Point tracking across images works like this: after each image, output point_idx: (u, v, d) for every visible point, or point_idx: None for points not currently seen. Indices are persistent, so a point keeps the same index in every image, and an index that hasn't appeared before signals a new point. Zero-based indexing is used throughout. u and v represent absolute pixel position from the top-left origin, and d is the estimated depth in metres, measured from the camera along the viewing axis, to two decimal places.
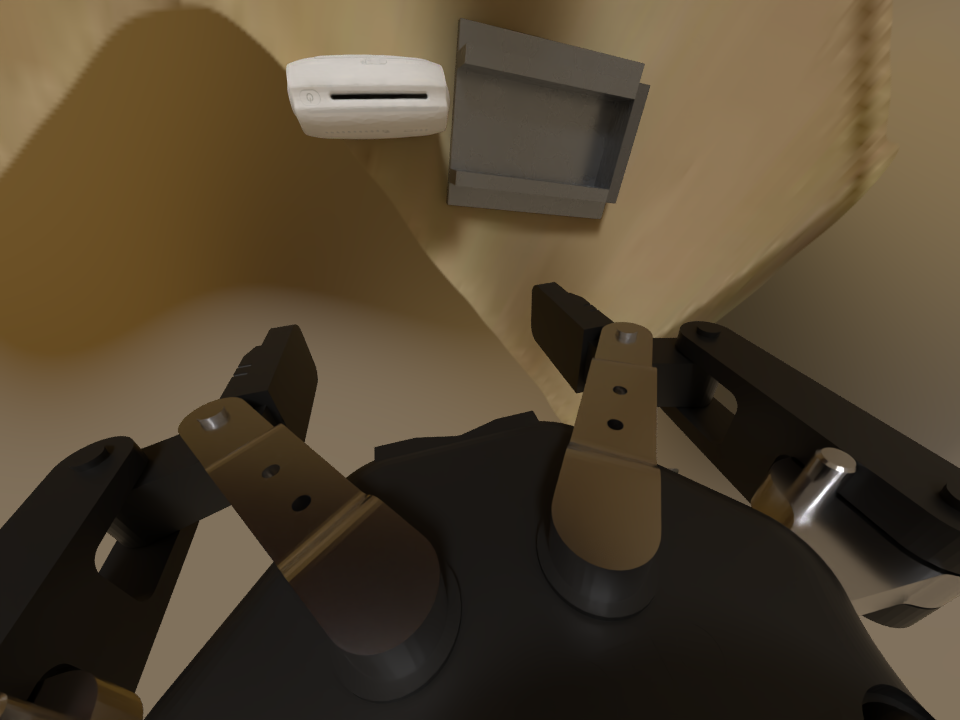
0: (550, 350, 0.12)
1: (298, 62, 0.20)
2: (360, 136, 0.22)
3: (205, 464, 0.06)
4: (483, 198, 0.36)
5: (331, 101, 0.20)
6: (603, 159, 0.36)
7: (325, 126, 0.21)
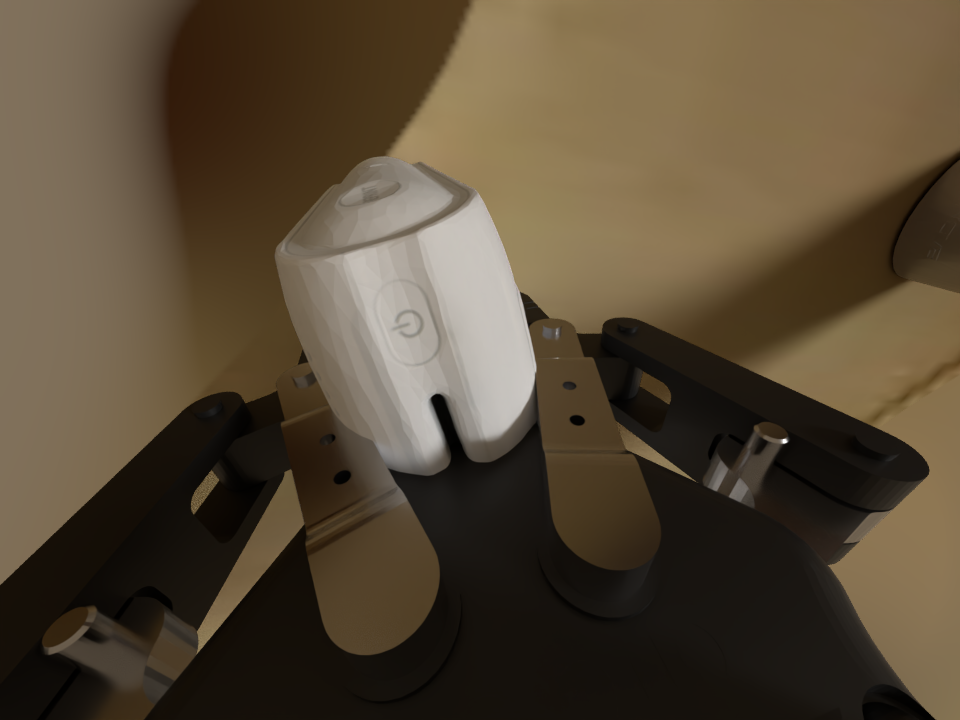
0: None
1: (498, 246, 0.06)
2: None
3: (286, 417, 0.07)
4: None
5: (421, 405, 0.05)
6: None
7: (327, 368, 0.05)
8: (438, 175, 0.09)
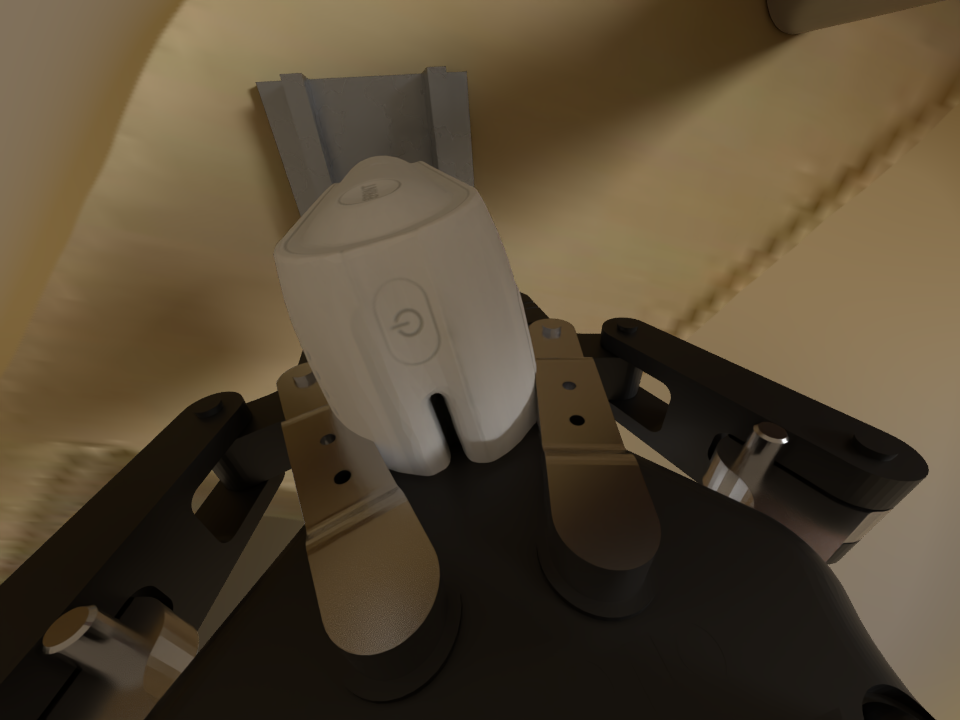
0: None
1: (497, 245, 0.06)
2: None
3: (287, 418, 0.07)
4: (291, 147, 0.25)
5: (421, 405, 0.05)
6: None
7: (326, 367, 0.05)
8: (438, 174, 0.09)
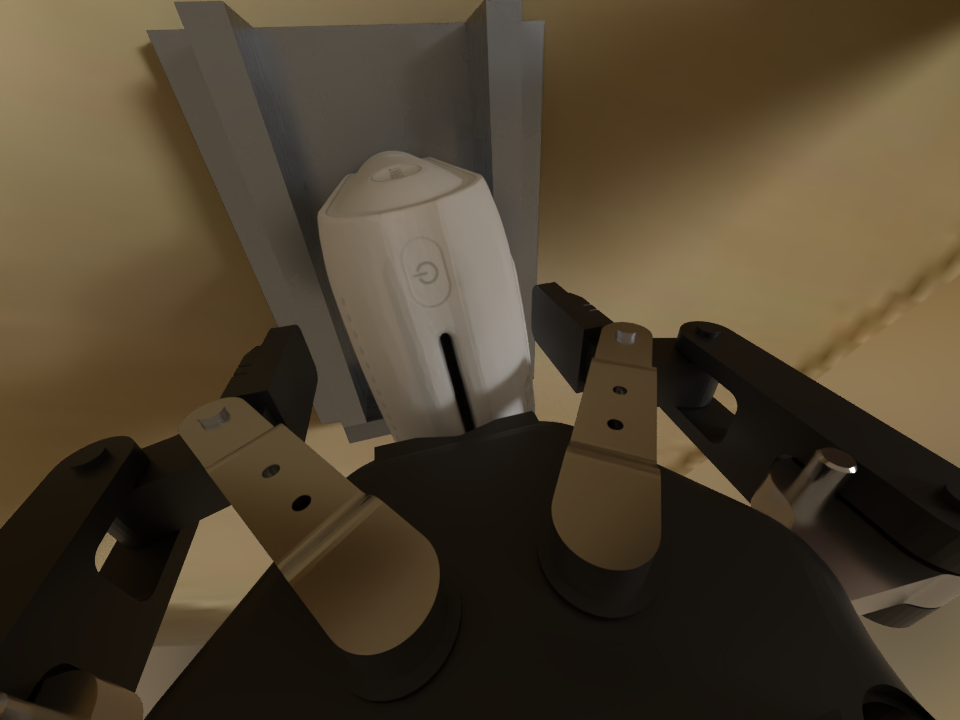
0: (550, 350, 0.12)
1: (497, 219, 0.07)
2: (366, 378, 0.08)
3: (205, 464, 0.06)
4: (228, 156, 0.14)
5: (433, 340, 0.07)
6: None
7: (359, 309, 0.07)
8: (447, 166, 0.10)
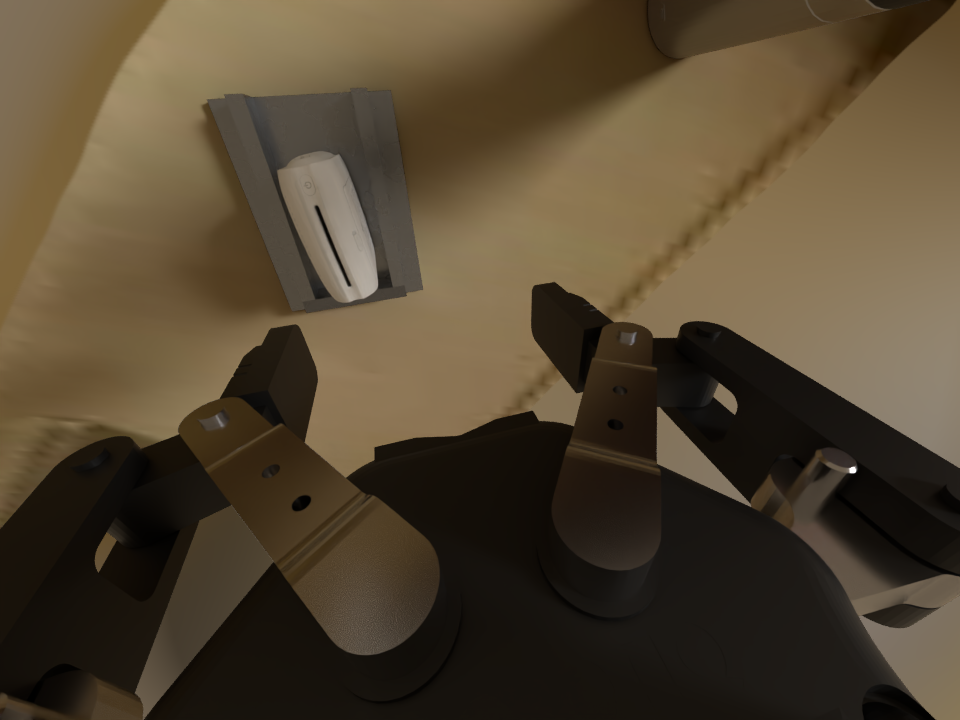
0: (550, 350, 0.12)
1: (334, 172, 0.23)
2: (296, 228, 0.23)
3: (206, 464, 0.06)
4: (241, 153, 0.29)
5: (312, 206, 0.22)
6: None
7: (289, 197, 0.22)
8: None
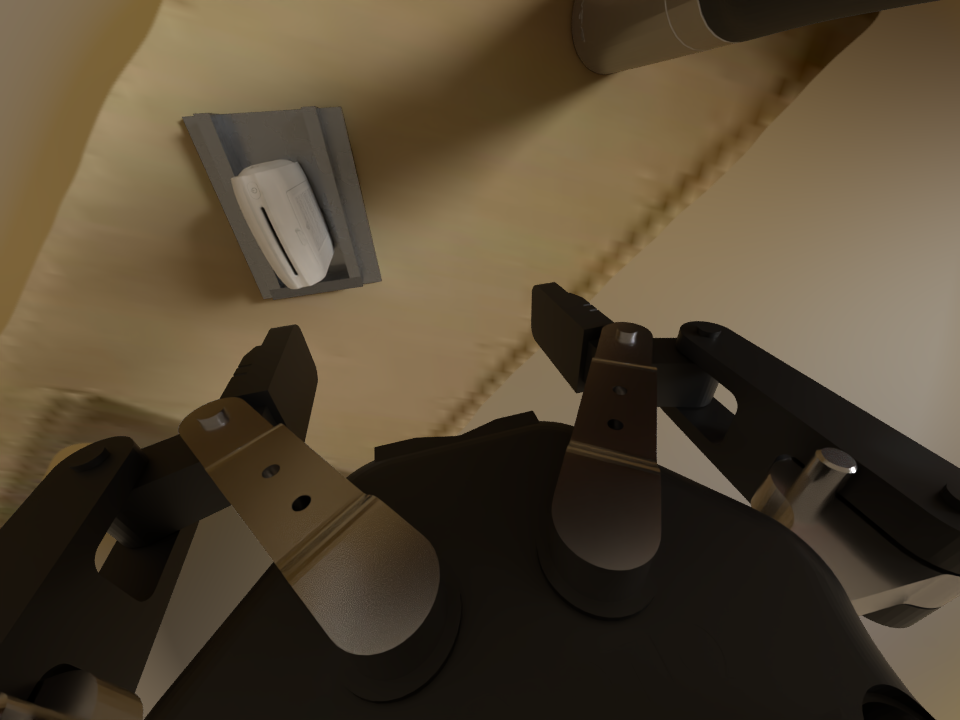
0: (550, 350, 0.12)
1: (278, 179, 0.27)
2: None
3: (206, 464, 0.06)
4: (212, 161, 0.34)
5: (258, 208, 0.27)
6: None
7: (240, 200, 0.27)
8: (283, 165, 0.30)
